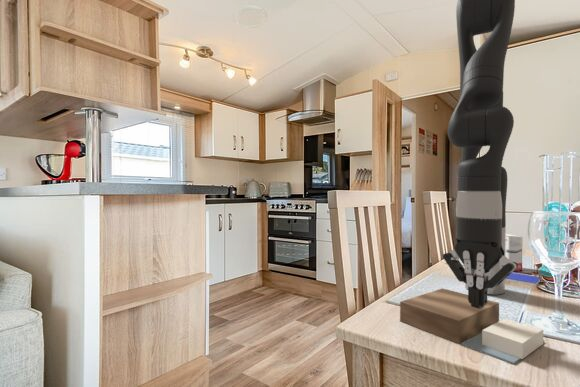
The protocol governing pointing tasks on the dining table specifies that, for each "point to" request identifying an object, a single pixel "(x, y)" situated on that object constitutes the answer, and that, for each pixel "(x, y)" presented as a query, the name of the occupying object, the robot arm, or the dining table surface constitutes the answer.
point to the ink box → (514, 249)
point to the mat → (489, 349)
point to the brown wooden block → (448, 314)
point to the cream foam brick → (512, 338)
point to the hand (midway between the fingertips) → (477, 306)
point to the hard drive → (523, 278)
